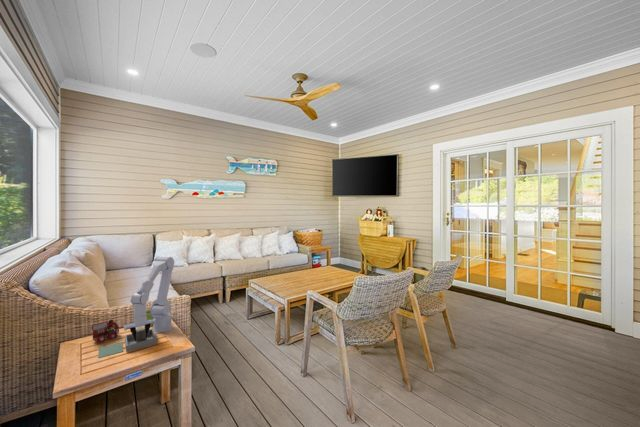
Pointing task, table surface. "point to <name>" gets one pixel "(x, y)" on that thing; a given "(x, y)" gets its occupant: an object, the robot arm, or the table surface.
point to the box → (140, 334)
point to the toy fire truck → (105, 331)
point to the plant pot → (149, 316)
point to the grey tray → (132, 344)
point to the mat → (110, 350)
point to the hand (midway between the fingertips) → (140, 339)
